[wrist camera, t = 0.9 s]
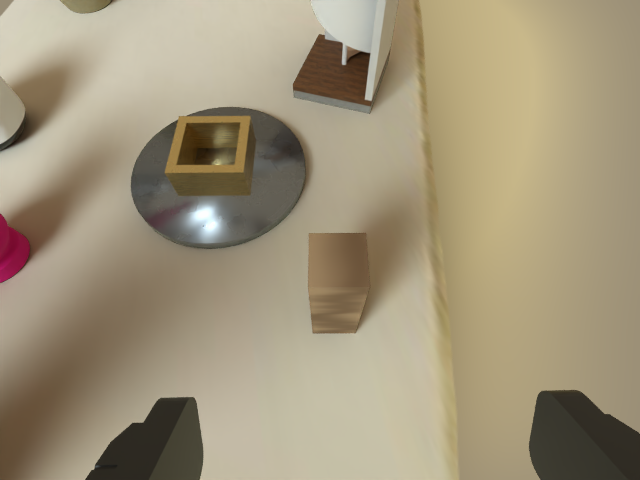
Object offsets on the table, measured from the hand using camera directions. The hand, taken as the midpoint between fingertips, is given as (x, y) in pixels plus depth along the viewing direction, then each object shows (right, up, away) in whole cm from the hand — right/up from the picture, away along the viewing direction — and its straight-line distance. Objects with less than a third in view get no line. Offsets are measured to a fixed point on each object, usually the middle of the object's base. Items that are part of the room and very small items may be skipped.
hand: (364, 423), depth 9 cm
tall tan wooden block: (0, -3, +26) cm, 26 cm away
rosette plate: (-13, +12, +34) cm, 39 cm away
